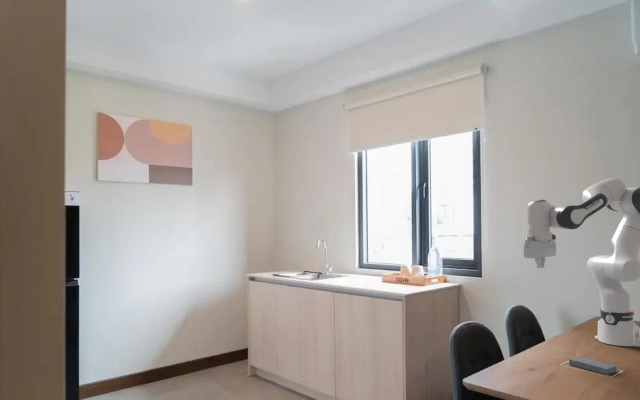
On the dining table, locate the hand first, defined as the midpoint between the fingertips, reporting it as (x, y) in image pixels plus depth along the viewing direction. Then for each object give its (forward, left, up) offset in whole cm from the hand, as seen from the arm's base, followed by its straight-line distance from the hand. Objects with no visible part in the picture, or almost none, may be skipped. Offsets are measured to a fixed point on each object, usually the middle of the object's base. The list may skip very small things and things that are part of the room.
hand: (540, 267), depth 193 cm
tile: (+10, +17, -34) cm, 40 cm away
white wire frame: (+11, +24, -36) cm, 44 cm away
